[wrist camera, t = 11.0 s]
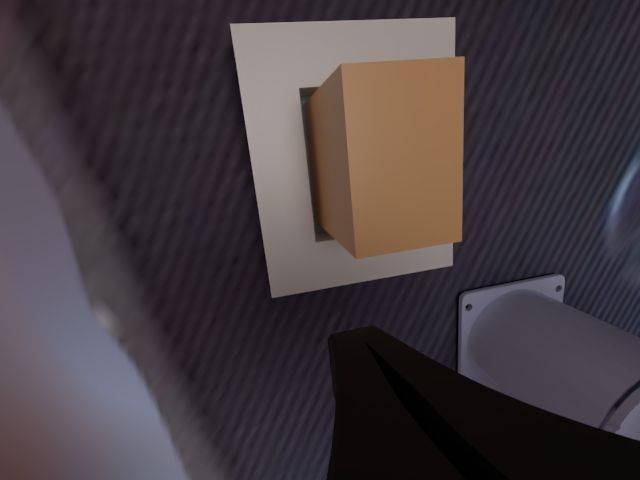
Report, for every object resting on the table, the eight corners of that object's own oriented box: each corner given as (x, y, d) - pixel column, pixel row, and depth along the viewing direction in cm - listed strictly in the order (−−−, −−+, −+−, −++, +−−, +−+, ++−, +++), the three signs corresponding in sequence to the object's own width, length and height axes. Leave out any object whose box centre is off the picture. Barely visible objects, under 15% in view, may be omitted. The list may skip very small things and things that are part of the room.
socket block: (428, 253, 20) (452, 265, 18) (269, 280, 18) (272, 297, 16) (426, 37, 17) (455, 17, 14) (233, 45, 15) (229, 23, 13)
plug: (384, 211, 18) (461, 241, 11) (316, 221, 17) (356, 259, 11) (378, 98, 16) (464, 56, 10) (303, 104, 16) (340, 63, 9)
